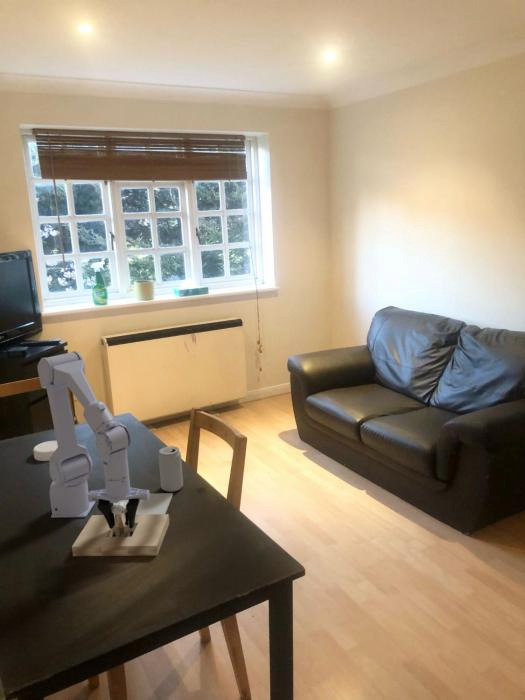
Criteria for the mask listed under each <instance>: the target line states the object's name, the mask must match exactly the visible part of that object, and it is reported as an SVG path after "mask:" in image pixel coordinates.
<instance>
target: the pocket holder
mask: <svg viewBox="0 0 525 700" xmlns="http://www.w3.org/2000/svg"><path fill="white" fill-rule="evenodd" d="M169 524H170V515H169V514H168V513H167V514H146V515H135V524H134V527H133V528H130V533H131V532H133V533H132V535H131V536H130V537H116V536H114V535H115V528H114V527H113V528H112V529H110V528H109V525H108V523H107V520H106V519H105V517H104V515H103V514H96V515H95V514H91V516H90V518H89V519H88V521H87V523H86V524H85V525H84V528H83V529H82V530H81V532H80V533H79V535H78V536H77V538H76V539H75V541H74V542H73V544H72V546H71V550H72V557H99V556H100V557H109V556H111V557H114V556H117V557H119V556H120V557H123V556H124V557H125V556H128V557H131V556H137V557H138V556H158V554H159V552H160V549H161V547H162V544H163V541H164V539H165V535H166V533H167V531H168V528H169Z"/></svg>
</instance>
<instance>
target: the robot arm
mask: <svg viewBox="0 0 525 700" xmlns="http://www.w3.org/2000/svg"><path fill="white" fill-rule="evenodd" d="M37 373H38V374H37V375H38V378H39V382H40V383H39V384H40V385H41V386H40V388H42V389H46V392H47V393H46V394H47V398H48V403H49V407H50V408H49V409H50V413H51V417H52V422H53V428H54V434H55V438H56V440H55V441H57V445H58V448H57V449H56V450H55V451H54V453H53V454H52V455H51V456H50V457H49V461H48V462H49V476H50V478H51V481H52V482H51V484H50V486H49V500H50V507H51V513H52V514H51V518H86V517H87V516H88V514H89V513H90V511H91V509H92V508H93V506H94V505H95V504H96V501H98V504H97V510H98V511H100V512H101V515H104V517H105V519H106V520H107V523H108V525H109V528H110V529H112V528H113V527H114V522H113V517H112V512H111V508H112V506H113V503H118V502H119V501H122V500H129V501H128V503H127V504H126V509H127V512H128V517H129V528H133V527H134V524H135V515H136V511H137V507H138V504H139V502H140V500H144V501H148V500H149V498H150V494H151V493H150V490H149V489H141V488H135V487H131V481H130V470H129V460H128V448H129V447H130V446H131V443H132V442H131V441H132V438H131V435H130V432H129V429H128V428H127V426H125V425H124V424H122V423H121V422H120V421H119V420H118V421H117V420H116V419H115V418H114V416H113V414H112V413H111V411H110V410H109V408H108V406H107V405H106V403H105V402H103V401H100V400H98V399H97V397H96V394H95V393H94V391H93V389H92V387H91V386H90V382H89V381H88V379H87V377H86V375H85V374H86V364H85V361H84V359H83V356H82V354H80V353H79V352H78V351H76V350H73V351H70V352H67V353H62V354H57V355H54V356H53V355H52V356H49V357H41V358H40V360H39V362H38V364H37ZM68 389H69V390H70V391H71V392H72V394H73V396H75V398H76V399H77V401H78V402H79V403H80V404H81V406H82V407H83V408H84V409H83V412H82V416H83V417H84V419H85V421H86V423H87V424H88V426H89V427H90V430H91V431H92V432H93V434H94V436H95V442H94V443H95V446H96V449H97V451H98V454H99V458H100V461H102V467H103V475H104V485H105V488H103V489H95V490H89V485H88V479H89V478H90V474H91V473H92V471H93V466H94V465H93V461H92V458H91V456H90V453H89V451H88V450H89V449H88V448H87V447H86V446H85V445H81V444H79V443H78V439H77V433H76V427H75V423H74V417H73V416H74V415H73V411H72V406H71V401H70V394H69V391H68Z"/></svg>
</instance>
